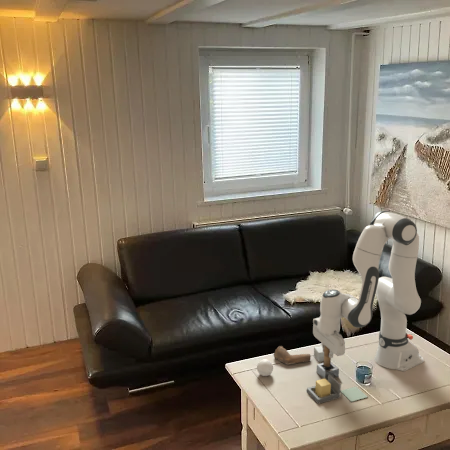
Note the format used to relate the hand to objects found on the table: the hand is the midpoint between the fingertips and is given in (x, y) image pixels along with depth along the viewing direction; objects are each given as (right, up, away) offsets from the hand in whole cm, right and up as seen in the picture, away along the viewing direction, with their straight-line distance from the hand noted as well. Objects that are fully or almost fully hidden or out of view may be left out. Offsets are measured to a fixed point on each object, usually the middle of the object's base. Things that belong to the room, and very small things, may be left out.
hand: (327, 354), depth 228 cm
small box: (0, -6, +16) cm, 18 cm away
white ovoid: (-29, -10, +3) cm, 31 cm away
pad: (+9, -14, -11) cm, 20 cm away
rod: (0, -5, +1) cm, 5 cm away
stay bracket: (0, -10, +3) cm, 10 cm away
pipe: (-14, -7, +15) cm, 22 cm away
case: (-4, -14, -11) cm, 18 cm away
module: (-4, -14, -11) cm, 18 cm away
